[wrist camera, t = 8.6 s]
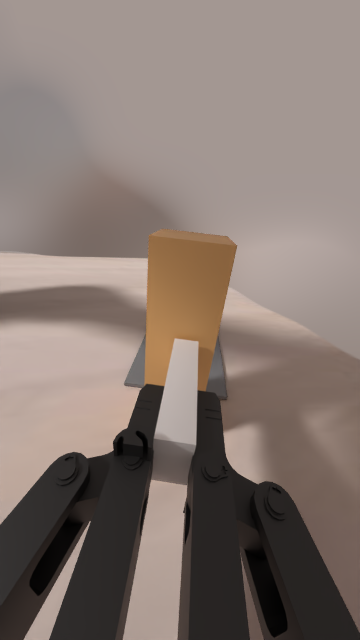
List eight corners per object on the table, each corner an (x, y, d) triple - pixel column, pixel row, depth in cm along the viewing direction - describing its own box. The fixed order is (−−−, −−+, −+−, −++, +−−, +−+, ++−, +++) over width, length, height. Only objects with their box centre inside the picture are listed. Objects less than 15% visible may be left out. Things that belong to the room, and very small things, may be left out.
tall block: (194, 440, 18) (237, 245, 11) (142, 433, 18) (148, 235, 11) (195, 399, 22) (227, 236, 15) (153, 393, 22) (162, 228, 15)
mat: (226, 399, 22) (227, 396, 22) (124, 385, 23) (124, 382, 22) (215, 321, 38) (215, 319, 38) (155, 313, 39) (155, 311, 38)
